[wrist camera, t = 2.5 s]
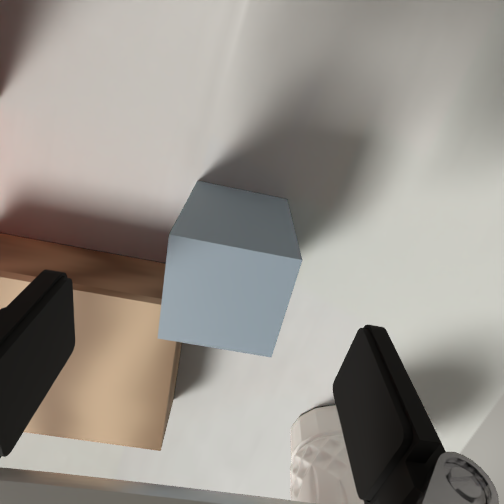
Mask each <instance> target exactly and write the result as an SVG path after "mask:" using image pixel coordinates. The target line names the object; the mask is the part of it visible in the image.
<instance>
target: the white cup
mask: <svg viewBox="0 0 504 504" xmlns="http://www.w3.org/2000/svg"><path fill="white" fill-rule="evenodd" d="M290 443H291V466H290V477H291V486H290V492H291V500H292V501H300V502H308V503H316V504H364V501H363V500H361V499H360V498H359V497H358V494H357V491H356V487H355V483H354V478H353V474H352V470H351V466H350V462H349V457H348V453H347V449H346V445H345V441H344V436H343V432H342V428H341V424H340V420H339V415H338V411H337V407H336V405H332V406H325V407H320V408H315V409H313V410H311V411H309V412H307V413H305V414H303V415H302V416H300V417H299V418H298V419H297V421H296V422H295V423H294V425H293V426H292V427H291V439H290Z"/></svg>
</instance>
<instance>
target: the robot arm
mask: <svg viewBox="0 0 504 504" xmlns="http://www.w3.org/2000/svg"><path fill="white" fill-rule="evenodd" d="M74 347H75V324H74V303H73V282H72V279H71V278H67V274H66V273H64V272H59V271H53V270H47V269H46V270H43V271H42V272H41V273H40V274H39V275H38V276H37V277H36V278H35V279H34V280H33V281H32V282H31V283H30V284H29V285H28V286H27V287H26V288H25V289H24V290H23V291H22V292H21V293H20V294H19V295H18V296H17V297H16V298H15V299H14V300H13V301H12V302H11V303H10V304H9V305H8V306H7V307H4V308H1V309H0V458H1V456H4V457H6V456H8V455H9V453H10V452H11V451H12V449H13V448H14V446H15V445H16V443H17V441H18V440H19V438H20V436H21V435H22V433H23V432H24V430H25V428H26V427H27V425H28V424H29V422H30V420H31V419H32V417H33V416H34V414H35V412H36V411H37V409H38V407H39V406H40V404H41V403H42V401H43V399H44V398H45V396H46V395H47V393H48V391H49V390H50V388H51V386H52V385H53V383H54V382H55V380H56V378H57V377H58V375H59V374H60V372H61V370H62V369H63V367H64V366H65V364H66V362H67V361H68V359H69V357H70V356H71V354H72V352H73V350H74ZM333 394H334V399H335V403H336V407H337V411H338V415H339V420H340V424H341V428H342V432H343V436H344V441H345V445H346V449H347V453H348V457H349V462H350V466H351V470H352V474H353V478H354V483H355V487H356V491H357V494H358V497H359V498H360V499H361V500H363V501H364V504H499V501H498V494H497V491H496V488H495V486H494V484H493V483H492V481H491V480H490V478H489V476H488V475H487V474H486V473H485V472H484V471H483V470H482V469H481V467H479V466H478V465H477V464H476V463H474V462H473V461H472V460H471V459H469V458H467V457H465V456H464V455H461V454H458V453H456V452H445V450H444V447H443V445H442V443H441V441H440V439H439V437H438V435H437V433H436V431H435V429H434V427H433V425H432V423H431V421H430V419H429V417H428V415H427V413H426V411H425V409H424V406H423V404H422V402H421V400H420V398H419V396H418V394H417V392H416V390H415V388H414V386H413V384H412V382H411V380H410V378H409V376H408V374H407V372H406V370H405V368H404V366H403V364H402V362H401V359H400V357H399V355H398V353H397V351H396V349H395V347H394V345H393V343H392V341H391V339H390V337H389V335H388V333H387V331H386V329H385V328H383V327H378V326H373V325H365V326H364V328H360V329H359V330H358V332H357V334H356V336H355V338H354V340H353V342H352V344H351V346H350V349H349V351H348V353H347V355H346V357H345V359H344V361H343V363H342V366H341V368H340V370H339V372H338V374H337V376H336V378H335V380H334V383H333ZM0 504H316V503H308V502H300V501H292V500H284V499H276V498H268V497H260V496H252V495H243V494H235V493H226V492H218V491H210V490H201V489H193V488H184V487H176V486H167V485H159V484H150V483H141V482H132V481H124V480H115V479H106V478H97V477H88V476H79V475H70V474H61V473H53V472H42V471H32V470H21V469H10V468H0Z"/></svg>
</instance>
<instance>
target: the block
mask: <svg viewBox="0 0 504 504" xmlns="http://www.w3.org/2000/svg"><path fill="white" fill-rule="evenodd" d="M301 263H302V257H301V253H300V249H299V245H298V241H297V237H296V233H295V228H294V224H293V220H292V216H291V212H290V208H289V204H288V200H287V199H284V198H279V197H274V196H269V195H264V194H260V193H255V192H250V191H245V190H240V189H236V188H231V187H226V186H221V185H216V184H211V183H207V182H202V181H197V183H196V185H195V187H194V188H193V190H192V192H191V194H190V196H189V198H188V200H187V202H186V203H185V205H184V207H183V209H182V211H181V213H180V215H179V217H178V219H177V220H176V222H175V224H174V226H173V228H172V230H171V232H170V234H169V239H168V248H167V257H166V266H165V275H164V284H163V294H162V303H161V312H160V321H159V330H158V339H164V340H170V341H176V342H182V343H188V344H194V345H200V346H206V347H212V348H218V349H224V350H230V351H236V352H242V353H248V354H254V355H260V356H266V357H272V354H273V350H274V347H275V344H276V341H277V338H278V335H279V332H280V329H281V325H282V322H283V319H284V316H285V313H286V310H287V307H288V303H289V300H290V297H291V294H292V291H293V288H294V285H295V281H296V278H297V275H298V272H299V269H300V266H301Z"/></svg>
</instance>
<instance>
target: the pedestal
mask: <svg viewBox="0 0 504 504" xmlns="http://www.w3.org/2000/svg"><path fill="white" fill-rule="evenodd" d="M165 266H166V264H165V263H160V262H154V261H149V260H143V259H138V258H133V257H127V256H122V255H116V254H111V253H105V252H100V251H95V250H89V249H84V248H78V247H73V246H68V245H62V244H57V243H51V242H46V241H40V240H35V239H30V238H24V237H19V236H13V235H8V234H2V233H0V309H1V308H4V307H7V306H8V305H9V304H10V303H11V302H12V301H13V300H14V299H15V298H16V297H17V296H18V295H19V294H20V293H21V292H22V291H23V290H24V289H25V288H26V287H27V286H28V285H29V284H30V283H31V282H32V281H33V280H34V279H35V278H36V277H37V276H38V275H39V274H40V273H41V272H42V271H43V270H46V269H47V270H53V271H59V272H64V273H66V274H67V278H71V279H72V282H73V303H74V324H75V347H74V350H73V352H72V354H71V356H70V357H69V359H68V361H67V362H66V364H65V366H64V367H63V369H62V370H61V372H60V374H59V375H58V377H57V378H56V380H55V382H54V383H53V385H52V386H51V388H50V390H49V391H48V393H47V395H46V396H45V398H44V399H43V401H42V403H41V404H40V406H39V407H38V409H37V411H36V412H35V414H34V416H33V417H32V419H31V420H30V422H29V424H28V425H27V427H26V428H25V430H24V432H27V433H34V434H42V435H49V436H56V437H63V438H71V439H78V440H85V441H93V442H100V443H107V444H115V445H122V446H129V447H136V448H144V449H151V450H158V451H161V447H162V443H163V439H164V435H165V431H166V427H167V423H168V419H169V415H170V411H171V407H172V403H173V398H174V392H175V385H176V379H177V372H178V366H179V359H180V353H181V346H182V342H176V341H170V340H164V339H158V330H159V321H160V312H161V303H162V294H163V284H164V275H165Z"/></svg>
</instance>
